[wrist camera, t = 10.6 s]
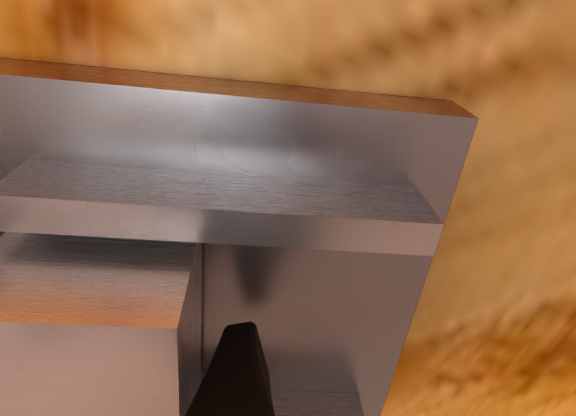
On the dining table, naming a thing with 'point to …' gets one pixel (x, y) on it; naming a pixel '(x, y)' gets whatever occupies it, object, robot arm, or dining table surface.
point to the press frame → (249, 205)
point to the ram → (98, 325)
